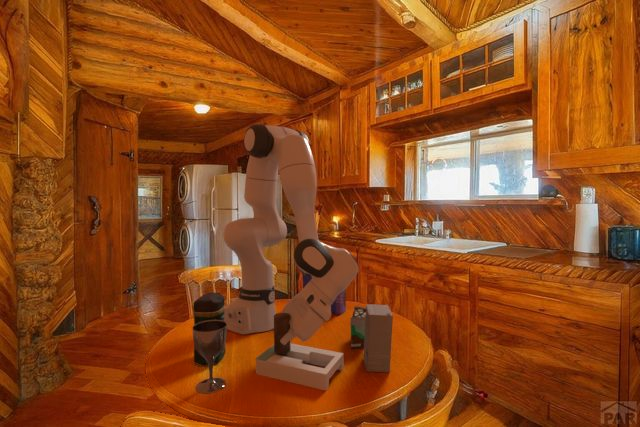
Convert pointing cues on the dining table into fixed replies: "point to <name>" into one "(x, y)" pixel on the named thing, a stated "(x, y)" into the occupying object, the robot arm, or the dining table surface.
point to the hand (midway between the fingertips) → (279, 338)
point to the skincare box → (377, 338)
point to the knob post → (281, 333)
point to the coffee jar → (208, 318)
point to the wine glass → (210, 350)
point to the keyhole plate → (301, 365)
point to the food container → (358, 327)
